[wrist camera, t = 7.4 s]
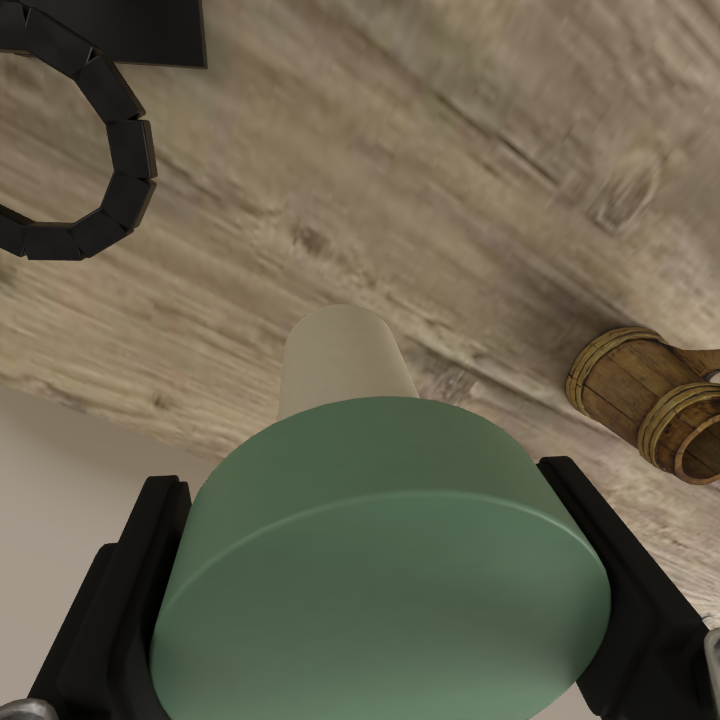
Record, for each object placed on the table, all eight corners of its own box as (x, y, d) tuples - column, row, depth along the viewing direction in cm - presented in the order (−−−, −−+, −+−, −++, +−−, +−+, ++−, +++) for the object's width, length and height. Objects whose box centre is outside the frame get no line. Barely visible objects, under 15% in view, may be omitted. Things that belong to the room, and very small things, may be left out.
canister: (446, 260, 16) (684, 478, 6) (425, 432, 20) (553, 751, 10) (231, 259, 15) (93, 510, 5) (248, 439, 19) (185, 798, 9)
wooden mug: (721, 314, 38) (1021, 440, 23) (609, 428, 43) (794, 603, 27) (658, 261, 36) (952, 364, 20) (545, 390, 40) (709, 561, 24)
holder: (186, -173, 22) (79, -463, 11) (221, 217, 30) (178, 262, 19) (-40, -203, 21) (-402, -563, 10) (61, 212, 29) (-78, 258, 18)
